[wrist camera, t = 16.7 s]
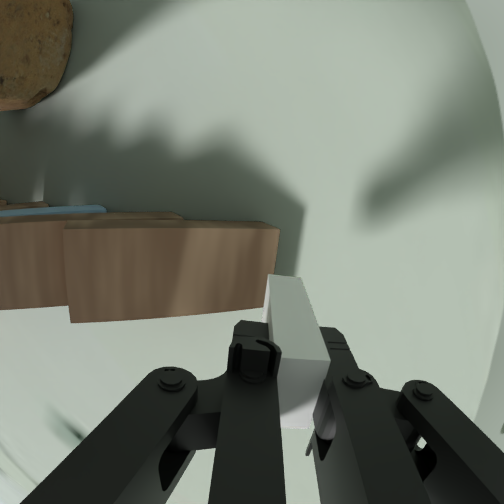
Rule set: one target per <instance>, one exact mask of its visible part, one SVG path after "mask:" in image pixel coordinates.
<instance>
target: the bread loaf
mask: <svg viewBox="0 0 504 504" xmlns="http://www.w3.org/2000/svg"><path fill="white" fill-rule="evenodd" d="M72 27H73V11H72V5H71V3H70V1H69V0H0V111H7V110H18V109H26V108H29V107H32V106H34V105H35V104H37V103H38V102H40V100H41V99H42V98H44V97H45V96H47V95H48V94H49V93H51V92H53V91H54V90H55V89H56V87H57V85H58V84H59V82H60V79H61V77H62V75H63V73H64V70H65V68H66V64H67V61H68V58H69V55H70V51H71V41H72V33H71V29H72Z"/></svg>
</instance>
